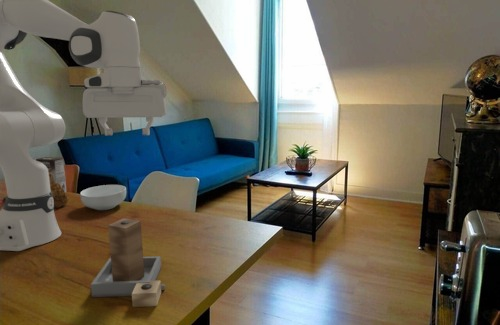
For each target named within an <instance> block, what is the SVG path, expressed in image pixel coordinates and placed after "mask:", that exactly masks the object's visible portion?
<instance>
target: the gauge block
mask: <svg viewBox="0 0 500 325" xmlns="http://www.w3.org/2000/svg"><path fill="white" fill-rule="evenodd" d="M161 282H162V281H161V280H158V279H157V280H156V281H150V283H137V284H136V286H135V288H134V290H133V292H132V296H131V300H132V301H131V303H132V308H136V307H137V308H139V307H142V308H143V307H157V306H158V303H159V300H160V298H161V294H162V291H164V290H165V289H166V284H164V283H162V284H161Z"/></svg>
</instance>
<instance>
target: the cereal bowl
mask: <svg viewBox="0 0 500 325" xmlns="http://www.w3.org/2000/svg"><path fill="white" fill-rule="evenodd" d="M79 195H80V196H79V197H80V201H81V203H82V204H83V205H84V206H85V207H87V208H89V209H94V210H95V211H107V210H111V209H114V208H116V207H117V206H118V205H120V204H122V203H123V202H124V201H125V199H126V198H127V187H126V186H125V185H121V184H106V185H105V184H103V185H98V186H92V187H88V188H86V189H83V190H82V191H80V194H79Z"/></svg>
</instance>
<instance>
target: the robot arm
mask: <svg viewBox="0 0 500 325" xmlns="http://www.w3.org/2000/svg"><path fill="white" fill-rule="evenodd" d="M28 34H29V35H32V36H36V37H42V38H49V39H55V40H56V39H57V40H62V41H68V51H69V53H70V56H71V58H72V59H73V61H74V62H75V63H76V64H77V65H79V66H82V67H85V68H94V69H103V72H101V73H99V74H95V75H92V76H90V77H87V78H85V79H84V81H83V82H84V87H86V89H85V90H84V91H83V94H82V114H83V115H84V116H85V117H86V118H87V119H90V118H91V119H96V118H97V119H98V123H99V124H100V125H101V127H102V128H103V129H104V136H107V137H109V136H113V134H114V132H113V131H114V130H113V128H110V127H109V125H108V124H107V122H108V118H113V119H115V118H117V119H118V118H145V122H147V124H146V126H145V127H143V128H141V129H142V130H141V131H142V136H150V134H151V133H150V132H151V131H150V128H151V127H152V125H153V123H154V118H164V117H165V116H166V115H167V112H168V110H167V103H166V98H165V97H166V96H167V86H166V84H165V83H164V82H162V81H160V80H159V79H155V80H150V79H143V75H142V66H141V63H140V54H141V44H140V42H141V41H140V35H139V34H140V33H139V28H138V24H137V21H136V20H135V18H134V17H133V16H132V15H130V14H127V13H124V12H119V11H117V10H116V11H114V10H103V11H102V12H101V13H100V15H99V17H98V18H97V19H96V20H94V21H93V22H92V23H88V22H85V21H84V20H82V19H79V18H78V17H76V16H75V15H72V14H71V13H69V12H68V11H66V10H64V9H62V8H61V7H60V6H58V5H56V4H55V3H53V2H51V1H50V0H0V169H1V171H2V174H3V178H4V182H5V188H6V195H7V196H5V197H3V198H2V199H0V205H3V206H2V209H0V251H8V252H9V251H13V252H21V251H24V250H26V249H29V248H33V247H36V246H42V245H44V244H47V243H49V242H52V241H54V240H56V239H59V237H61V235H62V231H61V229H60V227H59V225H58V221H57V218H56V215H55V207H54V200H53V194H52V191H51V190H50V181H49V172H48V168H47V167H46V166H45V165H44V164H43V163H41V162H39V161H36V159H33V158H32V157H31V154H30V151H29V148H30V149H31V148H38V147H42V146H43V147H44V146H45V147H46V146H49V145H52V144H54V143H56V142H59V141H61V140H62V139H63V138H64V136H65V134H66V128H67V126H66V123H65V121H64V118H63V117H62V116H61V115H60V114H59V113H58V112H55V111H53V110H51V109H49V108H47V107H46V106H44V105H43V104H41V103H40V102H38V101H37V100H36V99H35V97H33V96H32V95H31V94H30V93H29V92H28V91H27V90H26V89H25V88H24V87H23V85H22V84H21V81H20V80H19V79H18V77H17V75H16V74H15V72H14V70H13V68H12V67H11V64H10V63H9V61H8V59H7V57H6V55H5V52H4V51H5V50H8V51H9V50H13V49H15V48H16V46H17V45H19V44H21V43H22V42H23V41H24V40H25V39H26V37H27V35H28Z"/></svg>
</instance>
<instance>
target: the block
mask: <svg viewBox="0 0 500 325" xmlns="http://www.w3.org/2000/svg"><path fill="white" fill-rule="evenodd" d="M107 228H108V239H109V251H110V253H109V254H110V258H111V265H112V277H113V282H118V281H138V280H140V279H141V278H143V277H144V263H143V257H144V250H143V238H142V237H143V234H142V221H141V220H137V219H130V218H125V217H122V218H121V219H119V220H116V221H114V222H112V223H110V224H108V225H107Z"/></svg>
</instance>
